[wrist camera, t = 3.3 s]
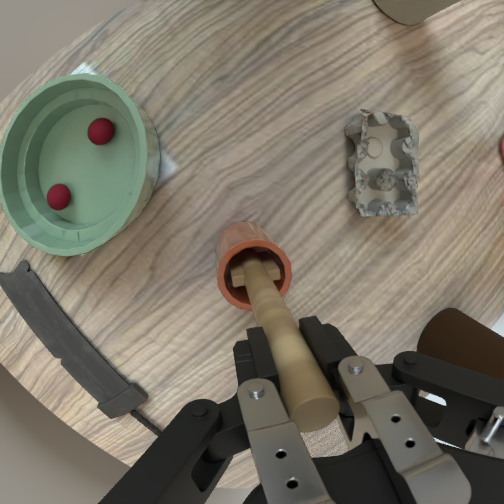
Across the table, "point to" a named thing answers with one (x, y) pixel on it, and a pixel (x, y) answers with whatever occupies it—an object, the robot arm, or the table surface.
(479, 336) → the olive oil
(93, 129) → the bead
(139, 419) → the toy broadsword
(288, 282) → the utensil pot
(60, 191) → the bead
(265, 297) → the wooden stick
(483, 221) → the table surface
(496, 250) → the table surface
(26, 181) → the bowl
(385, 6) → the travel mug
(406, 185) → the egg carton
